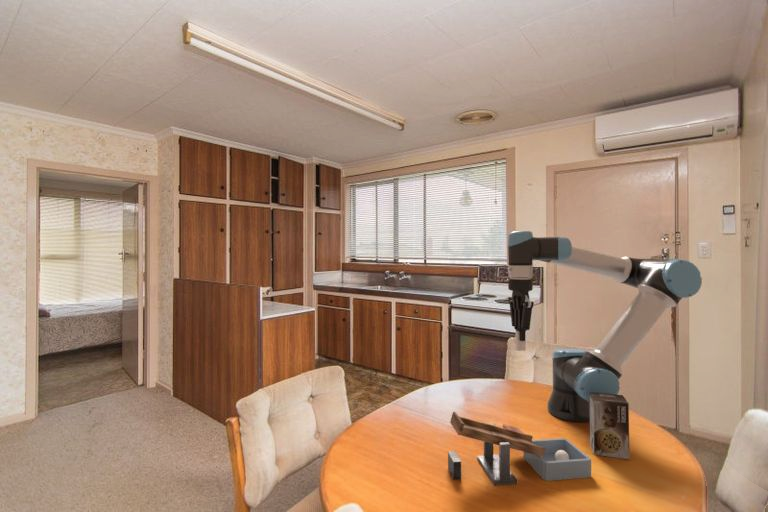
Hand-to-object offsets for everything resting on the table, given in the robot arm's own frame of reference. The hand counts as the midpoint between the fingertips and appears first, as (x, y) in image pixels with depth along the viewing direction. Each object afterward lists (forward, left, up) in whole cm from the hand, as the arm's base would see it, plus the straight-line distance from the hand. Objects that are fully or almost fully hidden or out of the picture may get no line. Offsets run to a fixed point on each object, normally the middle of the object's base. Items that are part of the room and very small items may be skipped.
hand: (520, 349), depth 123 cm
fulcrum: (+22, +21, -26) cm, 40 cm away
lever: (+18, +18, -18) cm, 31 cm away
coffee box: (-19, +16, -27) cm, 36 cm away
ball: (-1, +21, -24) cm, 32 cm away
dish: (+1, +21, -26) cm, 34 cm away
